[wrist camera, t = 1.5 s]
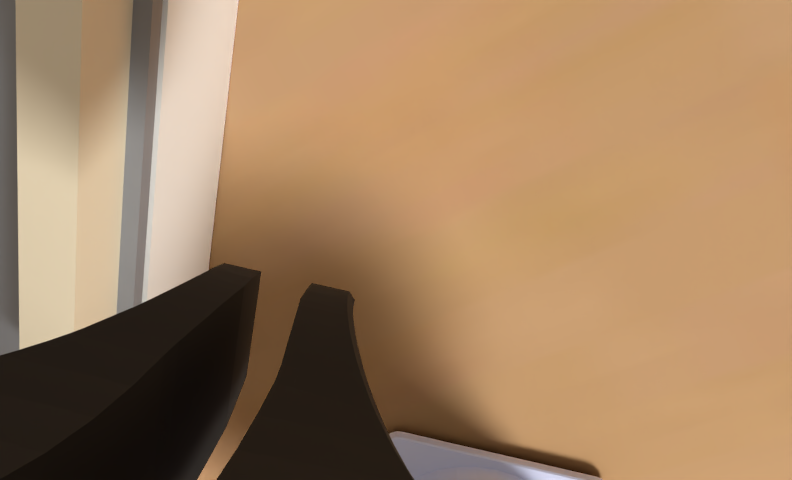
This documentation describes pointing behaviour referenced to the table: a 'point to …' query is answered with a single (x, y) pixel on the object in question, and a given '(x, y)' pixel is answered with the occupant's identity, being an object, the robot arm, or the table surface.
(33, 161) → the lid
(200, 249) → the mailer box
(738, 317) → the table surface
